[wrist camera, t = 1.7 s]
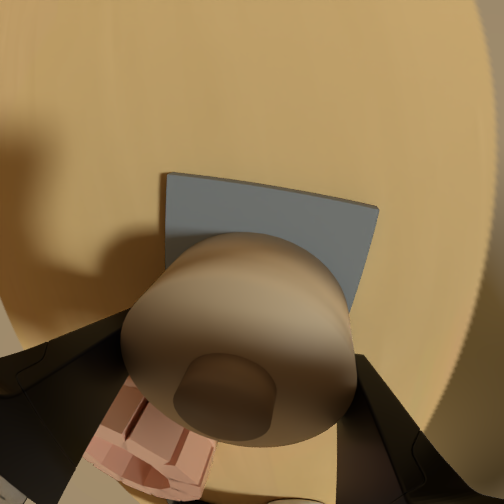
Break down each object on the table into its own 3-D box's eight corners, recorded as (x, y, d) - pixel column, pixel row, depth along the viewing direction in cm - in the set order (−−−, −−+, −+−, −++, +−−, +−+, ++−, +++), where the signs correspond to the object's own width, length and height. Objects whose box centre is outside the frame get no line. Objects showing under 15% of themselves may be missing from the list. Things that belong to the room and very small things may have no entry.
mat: (307, 410, 12) (307, 417, 11) (174, 380, 12) (171, 386, 12) (376, 206, 8) (379, 209, 8) (172, 172, 9) (167, 174, 8)
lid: (320, 400, 11) (314, 482, 7) (165, 366, 12) (125, 435, 8) (374, 254, 8) (408, 339, 5) (159, 215, 9) (79, 271, 5)
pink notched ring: (215, 468, 16) (201, 511, 13) (103, 428, 17) (81, 462, 14) (221, 397, 12) (198, 461, 9) (70, 344, 13) (32, 386, 10)
